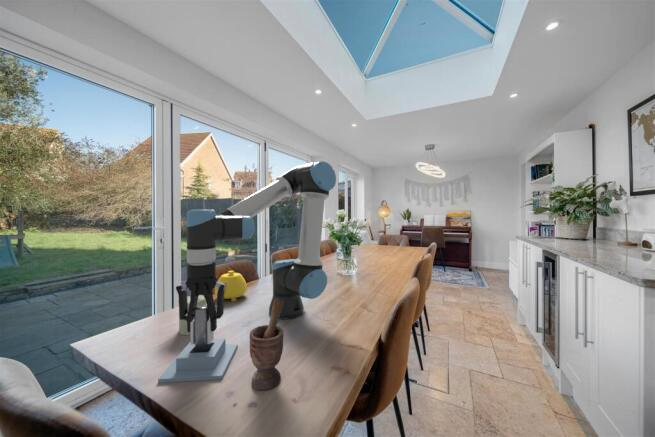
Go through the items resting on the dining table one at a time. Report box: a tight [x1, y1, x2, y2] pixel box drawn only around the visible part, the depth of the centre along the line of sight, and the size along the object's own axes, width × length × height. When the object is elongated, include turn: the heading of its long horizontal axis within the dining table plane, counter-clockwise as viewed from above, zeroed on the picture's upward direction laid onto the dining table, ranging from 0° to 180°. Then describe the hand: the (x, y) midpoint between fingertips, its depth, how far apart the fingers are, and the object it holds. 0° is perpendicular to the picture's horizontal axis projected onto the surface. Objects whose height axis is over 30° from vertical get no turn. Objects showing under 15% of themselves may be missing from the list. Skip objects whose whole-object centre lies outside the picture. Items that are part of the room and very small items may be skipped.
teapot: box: [214, 270, 248, 302], centre depth 127 cm, size 20×16×14 cm
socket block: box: [157, 337, 239, 384], centre depth 74 cm, size 16×16×4 cm
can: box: [178, 295, 207, 336], centre depth 94 cm, size 9×9×12 cm
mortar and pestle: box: [249, 298, 284, 391], centre depth 67 cm, size 12×9×20 cm
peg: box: [194, 304, 210, 353], centre depth 73 cm, size 4×4×14 cm
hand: (202, 341), depth 74 cm, fingers closed on peg, 4 cm apart
